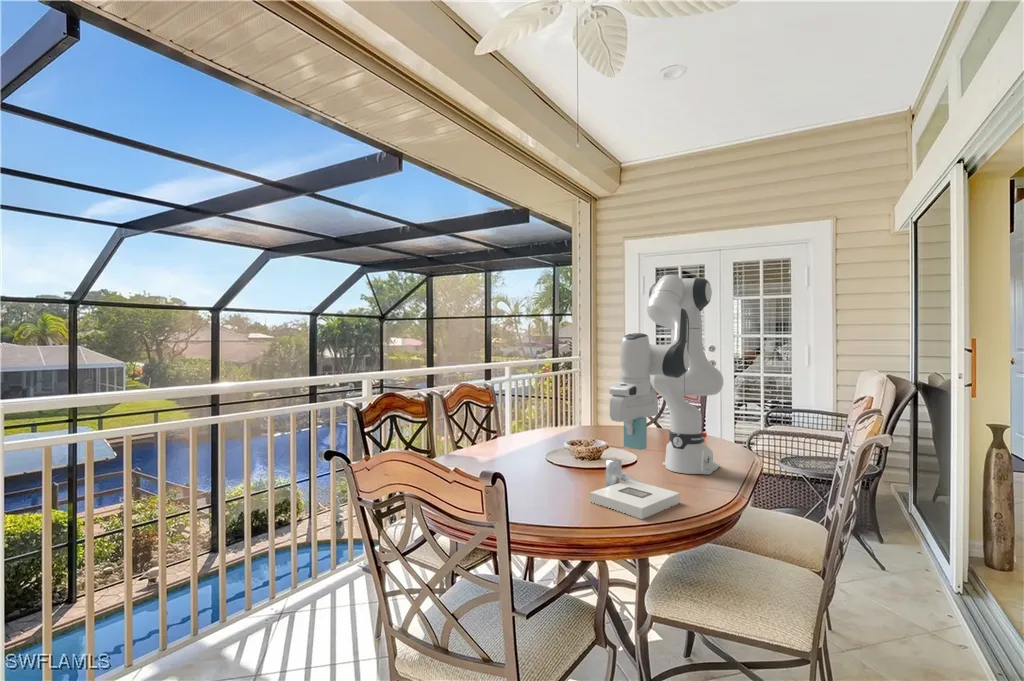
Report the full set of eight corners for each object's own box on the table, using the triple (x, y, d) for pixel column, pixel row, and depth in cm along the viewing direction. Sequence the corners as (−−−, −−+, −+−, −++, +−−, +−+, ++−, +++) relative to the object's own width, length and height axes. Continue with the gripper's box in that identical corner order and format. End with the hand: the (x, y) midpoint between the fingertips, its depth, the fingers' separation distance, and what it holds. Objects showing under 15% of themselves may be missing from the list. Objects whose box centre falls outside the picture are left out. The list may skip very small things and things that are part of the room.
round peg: (612, 484, 162) (612, 457, 162) (624, 488, 158) (624, 460, 158) (602, 487, 158) (602, 460, 158) (615, 491, 155) (615, 463, 155)
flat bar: (629, 445, 147) (629, 415, 147) (646, 448, 143) (646, 418, 143) (623, 446, 145) (623, 416, 145) (640, 449, 141) (640, 419, 141)
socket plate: (629, 488, 157) (629, 479, 157) (679, 502, 144) (679, 492, 144) (589, 502, 144) (590, 491, 144) (641, 519, 130) (641, 507, 130)
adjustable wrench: (660, 497, 151) (660, 491, 151) (642, 498, 149) (642, 492, 149) (623, 474, 175) (623, 469, 175) (607, 475, 174) (607, 470, 174)
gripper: (645, 384, 153) (645, 427, 153) (605, 388, 140) (605, 436, 140) (663, 386, 148) (663, 430, 148) (623, 390, 135) (623, 439, 135)
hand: (635, 433), depth 144 cm, fingers closed on flat bar, 3 cm apart
